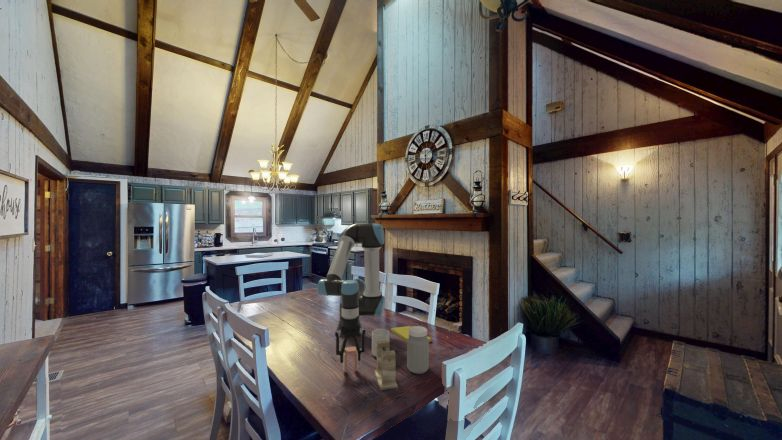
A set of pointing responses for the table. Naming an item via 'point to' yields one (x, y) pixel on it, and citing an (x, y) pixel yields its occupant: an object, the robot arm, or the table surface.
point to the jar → (417, 350)
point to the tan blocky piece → (385, 366)
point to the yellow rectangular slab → (404, 332)
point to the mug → (378, 338)
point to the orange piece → (348, 351)
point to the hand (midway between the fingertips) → (350, 368)
